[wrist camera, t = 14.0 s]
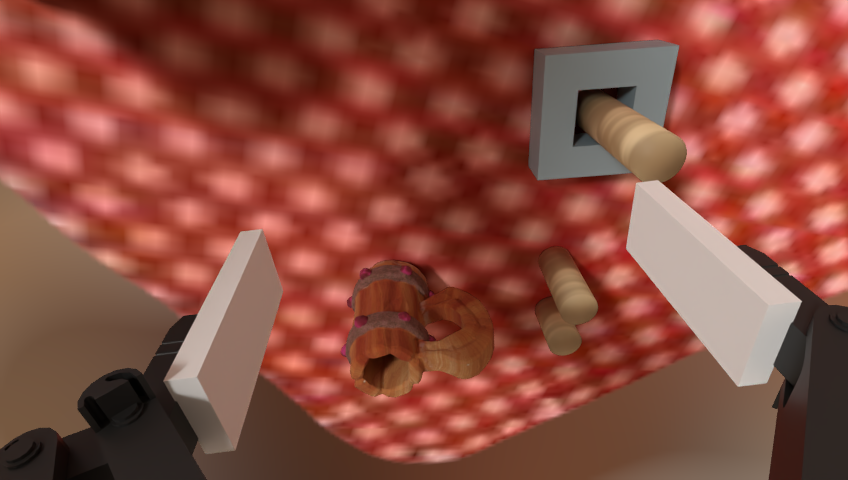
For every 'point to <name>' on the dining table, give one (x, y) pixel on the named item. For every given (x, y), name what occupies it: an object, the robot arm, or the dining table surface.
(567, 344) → the dowel short
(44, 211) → the dining table surface
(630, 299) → the dining table surface
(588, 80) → the hole block
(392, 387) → the mug
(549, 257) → the dowel medium
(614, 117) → the dowel long
